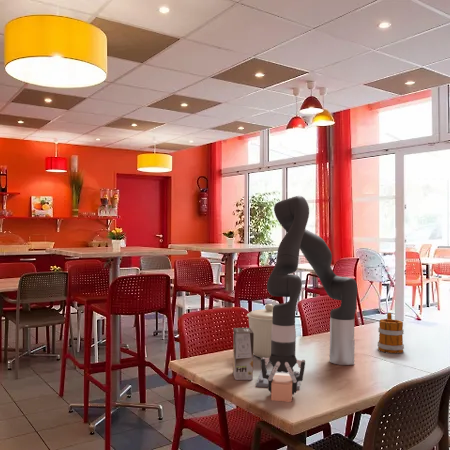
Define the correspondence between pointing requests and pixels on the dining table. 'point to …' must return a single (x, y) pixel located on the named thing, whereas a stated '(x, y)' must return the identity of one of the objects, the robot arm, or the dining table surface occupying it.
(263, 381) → the plate
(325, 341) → the dining table surface
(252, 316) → the canister
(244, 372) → the coffee box
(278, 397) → the brick
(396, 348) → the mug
